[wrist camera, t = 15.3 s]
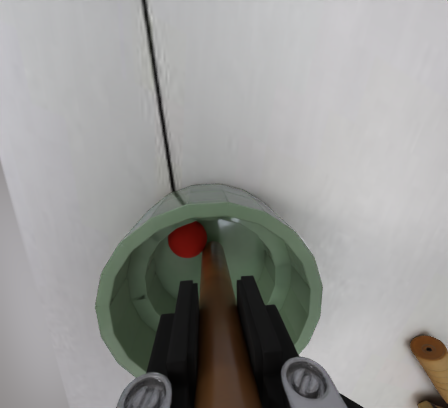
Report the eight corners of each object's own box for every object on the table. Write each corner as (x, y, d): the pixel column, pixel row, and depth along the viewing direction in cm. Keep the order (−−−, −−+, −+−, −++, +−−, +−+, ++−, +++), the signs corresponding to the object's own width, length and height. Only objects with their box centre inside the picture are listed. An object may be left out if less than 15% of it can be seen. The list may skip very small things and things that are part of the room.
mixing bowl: (142, 327, 22) (115, 409, 15) (122, 187, 18) (74, 210, 12) (281, 314, 23) (314, 385, 16) (286, 179, 19) (330, 196, 13)
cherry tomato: (164, 234, 19) (155, 242, 16) (189, 209, 19) (185, 213, 16) (189, 259, 19) (185, 272, 16) (214, 234, 19) (215, 242, 16)
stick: (206, 265, 19) (209, 513, 5) (198, 245, 19) (177, 449, 5) (226, 257, 19) (285, 480, 5) (219, 237, 19) (258, 415, 5)
